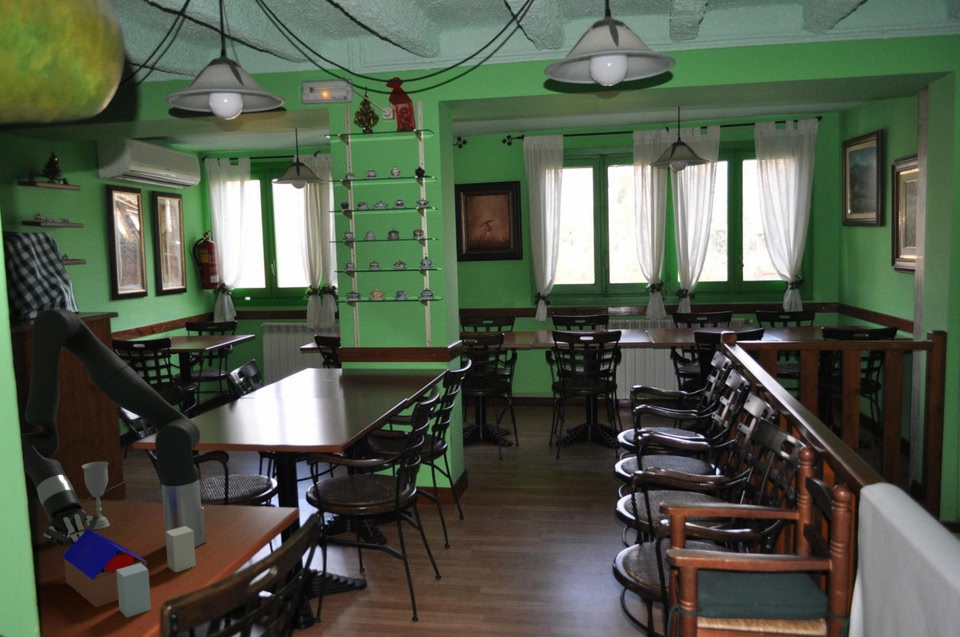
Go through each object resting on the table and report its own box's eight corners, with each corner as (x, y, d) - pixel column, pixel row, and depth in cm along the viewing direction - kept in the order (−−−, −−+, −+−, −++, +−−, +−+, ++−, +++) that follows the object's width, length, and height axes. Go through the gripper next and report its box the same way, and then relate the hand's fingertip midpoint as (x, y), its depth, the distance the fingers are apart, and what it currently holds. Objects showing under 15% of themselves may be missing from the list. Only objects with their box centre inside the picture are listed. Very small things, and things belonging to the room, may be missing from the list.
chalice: (118, 524, 217) (113, 463, 216) (95, 532, 211) (90, 469, 210) (104, 520, 221) (99, 460, 219) (81, 527, 215) (76, 466, 214)
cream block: (188, 560, 189) (185, 525, 188) (195, 566, 185) (193, 530, 184) (168, 566, 185) (165, 531, 185) (175, 572, 182) (172, 536, 181)
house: (116, 567, 187) (113, 521, 186) (150, 590, 173) (146, 541, 172) (64, 583, 178) (60, 536, 177) (95, 609, 164) (91, 557, 163)
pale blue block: (143, 602, 166) (140, 562, 166) (151, 609, 163) (148, 569, 162) (119, 609, 163) (116, 569, 162) (126, 617, 159) (123, 576, 158)
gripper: (33, 496, 180) (60, 557, 174) (89, 482, 191) (116, 539, 184) (26, 514, 184) (52, 574, 178) (81, 499, 194) (108, 555, 188)
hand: (85, 556), depth 181 cm, fingers closed
